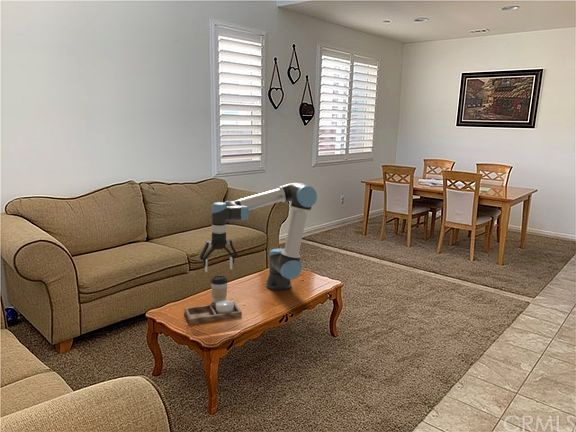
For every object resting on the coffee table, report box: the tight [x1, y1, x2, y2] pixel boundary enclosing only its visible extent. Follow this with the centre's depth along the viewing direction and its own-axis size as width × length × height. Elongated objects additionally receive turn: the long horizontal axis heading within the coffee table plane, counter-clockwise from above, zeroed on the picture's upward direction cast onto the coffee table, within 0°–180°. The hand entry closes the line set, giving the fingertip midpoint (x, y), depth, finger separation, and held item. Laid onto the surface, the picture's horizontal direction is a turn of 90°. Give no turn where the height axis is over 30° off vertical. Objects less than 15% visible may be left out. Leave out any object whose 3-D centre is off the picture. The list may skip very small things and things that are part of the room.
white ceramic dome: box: [216, 299, 234, 314], centre depth 226 cm, size 9×9×5 cm
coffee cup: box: [210, 275, 228, 304], centre depth 239 cm, size 9×9×15 cm
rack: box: [184, 301, 243, 325], centre depth 224 cm, size 26×14×4 cm, turn 112°
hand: (218, 270), depth 236 cm, fingers open, 13 cm apart
